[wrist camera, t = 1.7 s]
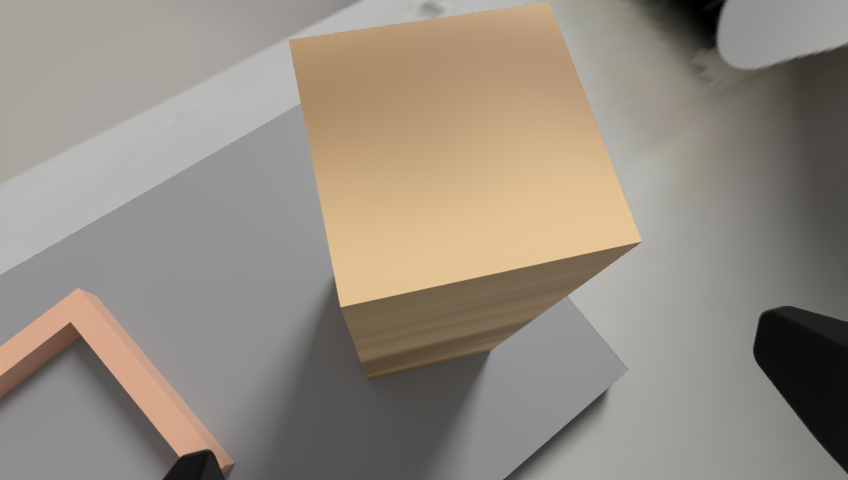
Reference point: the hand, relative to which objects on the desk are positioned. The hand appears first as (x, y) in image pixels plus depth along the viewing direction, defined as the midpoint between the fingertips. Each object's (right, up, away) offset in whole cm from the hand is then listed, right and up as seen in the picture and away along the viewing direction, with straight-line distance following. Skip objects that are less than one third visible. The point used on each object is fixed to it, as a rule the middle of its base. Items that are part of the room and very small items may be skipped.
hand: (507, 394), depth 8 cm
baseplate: (-8, -3, +11) cm, 14 cm away
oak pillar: (-2, 0, +11) cm, 11 cm away
